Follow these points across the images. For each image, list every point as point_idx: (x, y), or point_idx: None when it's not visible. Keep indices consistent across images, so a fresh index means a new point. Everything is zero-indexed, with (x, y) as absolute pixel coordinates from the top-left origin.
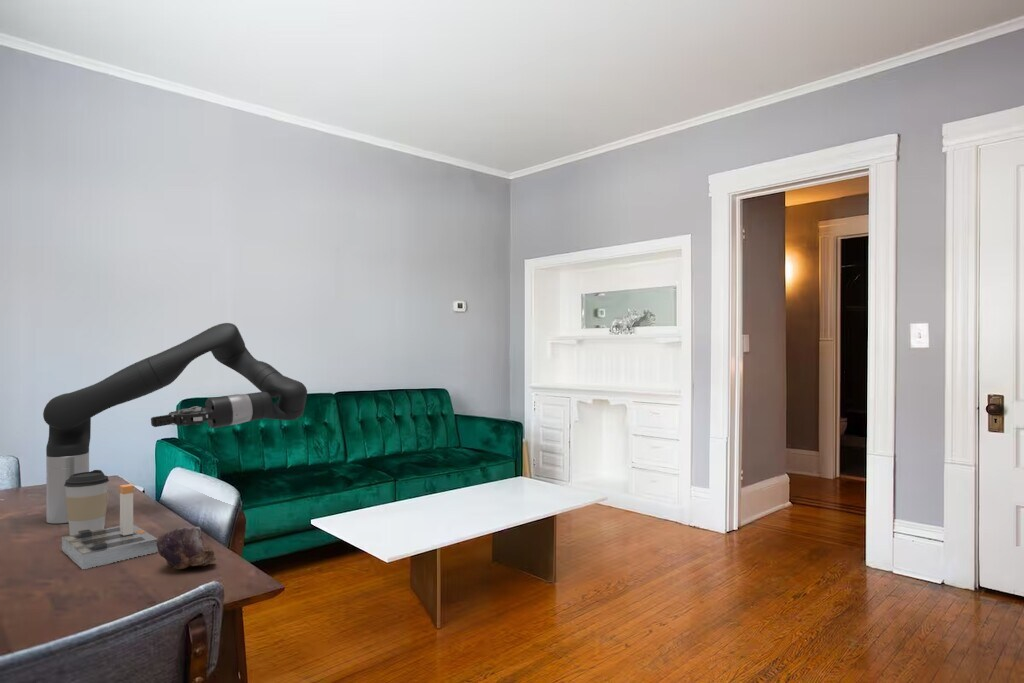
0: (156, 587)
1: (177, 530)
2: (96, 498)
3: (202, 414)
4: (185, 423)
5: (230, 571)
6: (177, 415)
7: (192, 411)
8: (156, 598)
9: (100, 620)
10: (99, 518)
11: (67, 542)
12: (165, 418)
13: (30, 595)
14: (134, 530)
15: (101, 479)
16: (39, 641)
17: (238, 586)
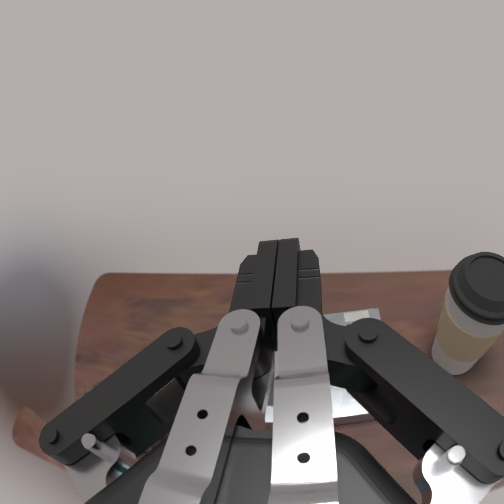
0: (104, 375)
1: (91, 386)
2: (449, 323)
3: (96, 494)
4: (152, 400)
5: None
6: (165, 334)
7: (171, 455)
8: (81, 364)
9: (86, 319)
10: (445, 353)
11: (338, 313)
12: (235, 294)
13: (200, 287)
14: (334, 405)
15: (467, 305)
16: (95, 285)
17: (37, 424)
